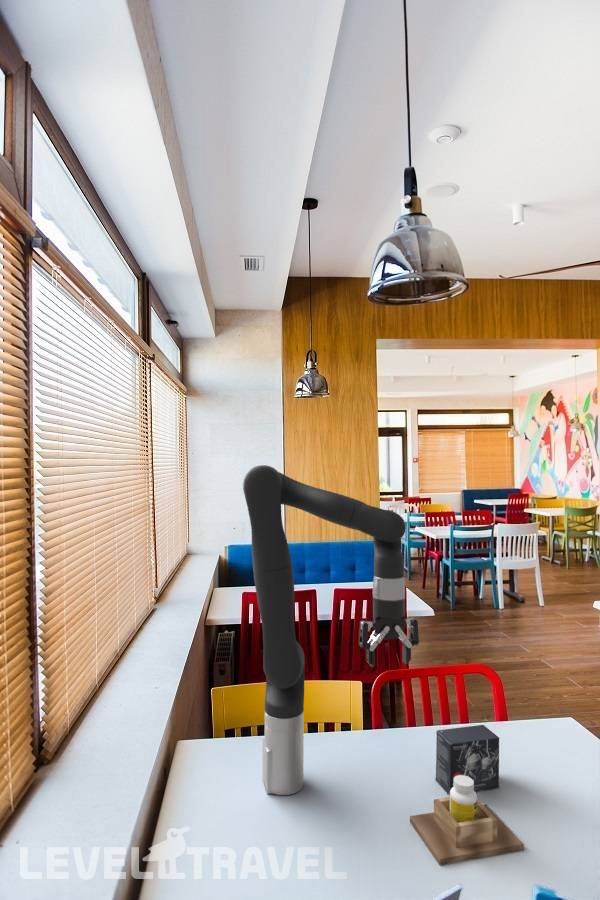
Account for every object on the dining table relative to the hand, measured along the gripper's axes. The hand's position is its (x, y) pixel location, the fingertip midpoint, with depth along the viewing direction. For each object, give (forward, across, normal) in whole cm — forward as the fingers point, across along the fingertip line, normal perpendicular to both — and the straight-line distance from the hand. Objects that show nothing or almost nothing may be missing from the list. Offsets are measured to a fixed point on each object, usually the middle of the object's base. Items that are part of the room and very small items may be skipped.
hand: (389, 664), depth 130 cm
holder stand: (+28, +8, -20) cm, 35 cm away
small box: (+28, +18, -4) cm, 34 cm away
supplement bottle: (+27, +8, -20) cm, 35 cm away
